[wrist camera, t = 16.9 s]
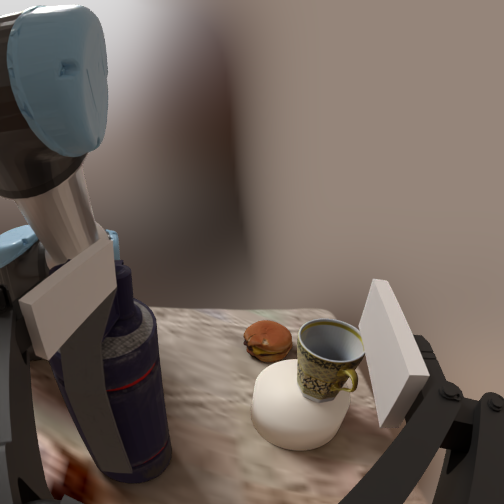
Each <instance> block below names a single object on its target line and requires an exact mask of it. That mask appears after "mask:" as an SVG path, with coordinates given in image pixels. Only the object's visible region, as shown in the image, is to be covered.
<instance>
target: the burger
mask: <svg viewBox="0 0 504 504" xmlns="http://www.w3.org/2000/svg"><path fill="white" fill-rule="evenodd" d="M244 338H245V341H244V345H246V346H247V352H248V353H250V354H251V355H252V356H256V357H257V358H258V359H259V360H260V361H263V362H275V361H279V360H282V359H283V358H284V357H286V355H287V354H288V353H289V351H290V350H291V348H292V336H291V333H290V332H289V330H288V329H287V328H286V327H284V326H282V325H281V324H278V323H276V322H273V321H268V320H263V321H258V322H256V323H254V324H252V325H251V326H250V327H248V328H247V329H246V331H245V333H244Z"/></svg>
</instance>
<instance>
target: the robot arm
mask: <svg viewBox="0 0 504 504" xmlns="http://www.w3.org/2000/svg"><path fill="white" fill-rule="evenodd" d="M107 69H108V67H107V54H106V45H105V39H104V34H103V30H102V26H101V23H100V21H99V19H98V17H97V16H96V15H95V14H94V13H93V12H92V11H90V9H88V8H86V7H84V6H79V5H66V6H54V7H48V6H34V7H31V8H28V9H26V10H25V11H20V12H16V13H11V14H7V15H3V16H0V197H2V198H5V199H9V200H14V201H15V203H16V205H17V206H18V208H19V210H20V211H21V213H22V214H23V216H24V217H25V219H26V221H27V222H28V224H29V225H26V226H21V227H17V228H14V229H11V230H9V231H7V232H5V233H3V234H1V235H0V504H83V503H81V502H79V501H77V500H75V499H73V498H70V497H68V496H66V495H64V497H63V498H62V500H61V501H60V500H54V498H53V496H52V495H51V493H50V491H49V489H48V487H47V484H46V480H45V475H44V471H43V466H42V461H41V456H40V451H39V445H38V439H37V433H36V426H35V419H34V410H33V401H32V390H31V376H30V360H39V359H43V358H44V359H46V360H48V361H49V359H50V358H51V357H52V356H53V355H54V354H55V353H56V351H57V350H58V349H59V348H60V347H61V346H62V345H63V344H64V343H65V341H66V340H67V339H68V338H69V337H70V336H71V335H72V334H73V333H74V332H75V330H76V329H77V328H78V327H79V326H80V325H81V324H82V323H83V322H84V321H85V320H86V319H87V317H88V316H89V315H90V314H91V313H92V312H93V311H94V310H95V309H96V308H97V307H98V306H99V305H100V304H101V303H102V302H103V301H104V300H105V298H106V297H107V296H108V295H109V294H110V293H111V292H112V291H113V290H114V289H115V288H116V287H117V284H116V274H115V263H114V260H120V257H119V240H118V235H117V233H116V232H115V231H109V230H104V229H103V228H102V227H101V225H99V224H98V223H97V222H95V220H94V216H93V212H92V207H91V203H90V199H89V194H88V190H87V185H86V181H85V176H84V171H83V166H82V164H83V163H84V161H85V159H86V158H87V155H88V153H89V152H91V151H93V150H95V149H96V148H98V147H99V146H100V144H101V142H102V140H103V138H104V134H105V129H106V123H107V110H108V85H107V75H108V70H107ZM68 259H72V260H70V261H69V262H67V263H66V261H67V260H68ZM63 263H66V264H65V265H63V266H62V267H61V268H59V269H58V270H57V271H55V272H54V273H53V274H51V275H50V276H49V270H50V269H51V268H52V267H54V266H56V265H59V264H63ZM359 329H360V333H361V337H362V342H363V346H364V350H365V355H366V359H367V364H368V368H369V373H370V378H371V382H372V388H373V393H374V398H375V403H376V409H377V414H378V420H379V425H380V428H399V426H400V425H401V423H402V422H403V420H404V419H405V420H406V425H405V427H404V428H403V429H402V431H401V432H400V433H399V435H398V436H397V437H396V439H395V440H394V441H393V442H392V444H391V445H390V446H389V447H388V449H387V450H386V451H385V452H384V454H383V455H382V456H381V457H380V458H379V460H378V461H377V462H376V463H375V464H374V466H373V467H372V468H371V469H370V470H369V471H368V472H367V474H366V475H365V476H364V477H363V478H362V479H361V480H360V481H359V482H358V484H357V485H356V486H355V487H354V488H353V489H352V490H351V491H350V492H349V493H348V494H347V495H346V496H345V497H344V498H343V499H342V500H341V501H340V502H339V503H338V504H403V503H404V502H405V500H406V499H407V497H408V496H409V494H410V493H411V492H412V490H413V489H414V487H415V486H416V484H417V483H418V481H419V480H420V478H421V477H422V475H423V474H424V472H425V470H426V469H427V467H428V466H429V464H430V462H431V460H432V459H433V457H434V456H435V454H436V452H437V450H438V449H439V448H444V449H446V454H445V458H444V463H443V467H442V471H441V475H440V478H439V482H438V486H437V489H436V493H435V496H434V499H433V503H432V504H504V398H503V397H502V396H500V395H498V394H496V393H492V392H488V393H485V394H484V395H483V396H482V398H481V399H480V400H479V401H476V400H472V399H468V398H464V397H463V394H462V391H461V390H460V389H459V387H457V386H456V385H455V384H453V383H451V382H448V381H446V379H445V376H444V374H443V372H442V370H441V367H440V365H439V363H438V361H437V360H436V356H435V354H434V353H433V350H432V348H431V346H430V343H429V342H428V341H427V340H425V338H424V337H423V336H422V335H421V336H420V335H413V334H412V332H411V330H410V327H409V325H408V323H407V321H406V319H405V317H404V314H403V312H402V310H401V308H400V306H399V304H398V301H397V299H396V297H395V295H394V293H393V291H392V289H391V287H390V285H389V283H388V281H386V280H379V279H373V281H372V284H371V288H370V291H369V294H368V298H367V301H366V304H365V308H364V311H363V314H362V317H361V321H360V324H359Z"/></svg>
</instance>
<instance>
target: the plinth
mask: <svg viewBox="0 0 504 504" xmlns="http://www.w3.org/2000/svg"><path fill="white" fill-rule="evenodd" d="M297 361H298V359H291V360H284V361H279V362H276V363H274V364H272V365H270V366H268V367H267V368H265V369H264V370H263V371H262V372H261V373H260V374H259V376H258V377H257V380H256V382H255V387H254V394H253V400H252V406H251V419H252V422H253V425H254V427H255V429H256V430H257V431H258V433H259V434H260V435H261V436H262V437H263V438H264V439H266V440H267V441H268V442H270V443H272V444H274V445H276V446H278V447H281V448H284V449H288V450H295V451H305V450H311V449H315V448H318V447H321V446H323V445H324V444H326V443H328V442H329V441H330V440H331V439H332V438H333V437H334V436H335V435H336V433H337V431H338V429H339V427H340V425H341V423H342V421H343V419H344V417H345V415H346V413H347V410H348V408H349V406H350V401H351V396H350V392H346V391H343V390H342V391H339V393H338V394H337V396H336V397H335V399H334V400H332V401H328V402H323V403H317V402H314V401H312V400H310V399H308V398H305V397H303V395H302V393H301V391H300V389H299V387H298V385H297ZM343 387H344V388H348V386H347V384H346V382H345V384H344V385H343ZM343 387H342V388H343ZM348 389H349V388H348Z"/></svg>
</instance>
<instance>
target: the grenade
mask: <svg viewBox="0 0 504 504" xmlns="http://www.w3.org/2000/svg"><path fill="white" fill-rule="evenodd" d="M70 260H72V259H68V260H67V261H66V263H67V262H69V261H70ZM66 263H63V264H59V265H56V266H54V267H52V268H51V269H50V270H49V276H50V275H51V274H53V273H54V272H55V271H57V270H58V269H59V268H61V267H62V266H63V265H65V264H66ZM114 263H115V274H116V284H117V287H116V288H115V289H114V290H113V291H112V292H111V293H110V294H109V295H108V296H107V297H106V298H105V300H104V301H103V302H102V303H101V304H100V305H99V306H98V307H97V308H96V309H95V310H94V311H93V312H92V313H91V314H90V315H89V316H88V317H87V319H86V320H85V321H84V322H83V323H82V324H81V325H80V326H79V327H78V328H77V329H76V330H75V332H74V333H73V334H72V335H71V336H70V337H69V338H68V339H67V340H66V341H65V343H64V344H63V345H62V346H61V347H60V348H59V349H58V350H57V351H56V353H55V354H54V355H53V356H52V357H51V358H50V359H49V363H50V365H51V368H52V371H53V374H54V376H55V379H56V382H57V384H58V387H59V389H60V392H61V394H62V396H63V399H64V401H65V403H66V406H67V408H68V410H69V412H70V415H71V417H72V419H73V421H74V423H75V425H76V428H77V430H78V432H79V434H80V436H81V438H82V440H83V442H84V444H85V445H86V447H87V449H88V451H89V453H90V455H91V457H92V458H93V460H94V462H95V464H96V466H97V467H98V468H99V469H100V470H101V471H102V472H103V473H104V474H105V475H107V476H108V477H110V478H112V479H114V480H117V481H119V482H125V483H141V482H145V481H149V480H151V479H153V478H155V477H157V476H159V475H160V474H161V473H162V472H163V471H164V470H165V469H166V467H167V466H168V464H169V462H170V459H171V454H172V448H171V442H170V436H169V429H168V422H167V416H166V408H165V401H164V393H163V385H162V376H161V367H160V358H159V347H158V335H157V323H156V318H155V316H154V314H153V312H152V310H151V309H150V308H149V307H148V306H147V305H145V304H144V303H142V302H141V301H139V300H137V299H135V298H133V288H132V276H131V269H130V268H129V267H128V266H125V265H123V260H114Z"/></svg>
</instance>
